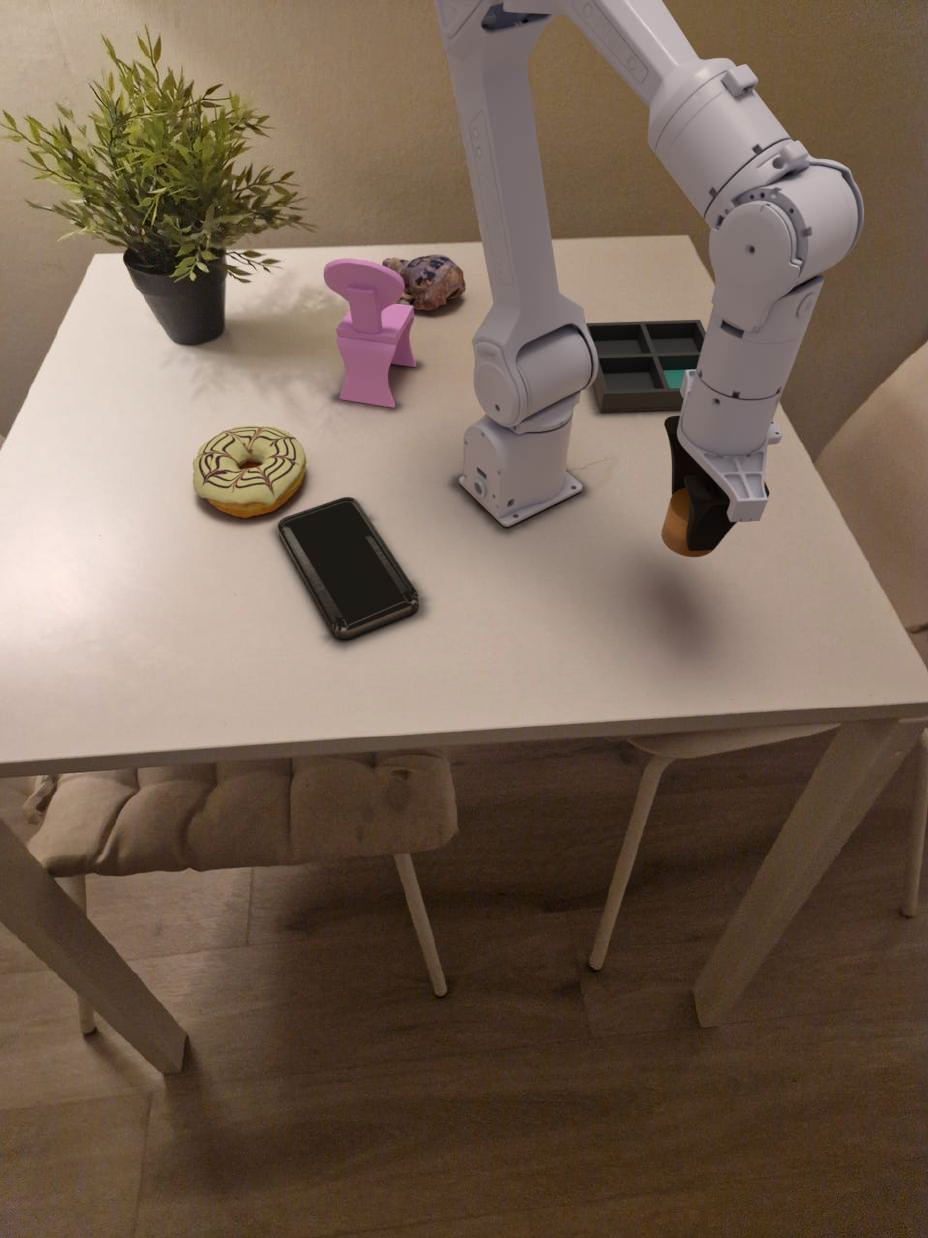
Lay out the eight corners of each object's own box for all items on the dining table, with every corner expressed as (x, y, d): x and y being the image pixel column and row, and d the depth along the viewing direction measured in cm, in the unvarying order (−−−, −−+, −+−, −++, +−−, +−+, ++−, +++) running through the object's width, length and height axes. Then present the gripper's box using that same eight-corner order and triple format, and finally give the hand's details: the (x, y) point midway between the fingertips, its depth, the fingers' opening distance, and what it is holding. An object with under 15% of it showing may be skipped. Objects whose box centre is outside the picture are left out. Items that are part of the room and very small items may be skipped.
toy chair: (426, 364, 91) (421, 231, 79) (403, 409, 85) (394, 273, 74) (357, 353, 92) (342, 221, 80) (330, 397, 86) (310, 262, 75)
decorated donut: (183, 517, 75) (171, 486, 72) (219, 445, 81) (210, 414, 78) (291, 526, 74) (284, 496, 71) (319, 453, 80) (313, 422, 77)
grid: (727, 408, 86) (732, 389, 84) (600, 412, 85) (603, 393, 83) (695, 337, 94) (700, 319, 92) (580, 341, 94) (582, 322, 92)
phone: (336, 635, 64) (274, 520, 72) (338, 643, 65) (276, 529, 73) (424, 600, 66) (354, 493, 75) (424, 609, 67) (355, 502, 76)
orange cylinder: (688, 565, 61) (699, 533, 59) (649, 532, 64) (658, 499, 61) (728, 542, 63) (740, 510, 60) (689, 511, 65) (699, 478, 62)
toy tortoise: (367, 281, 101) (370, 232, 97) (415, 271, 105) (419, 223, 101) (425, 325, 96) (431, 275, 91) (473, 312, 100) (481, 263, 95)
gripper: (840, 442, 47) (770, 592, 58) (768, 313, 56) (719, 463, 67) (724, 446, 47) (675, 596, 57) (670, 315, 56) (636, 465, 67)
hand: (692, 525), depth 62 cm, fingers closed on orange cylinder, 4 cm apart
